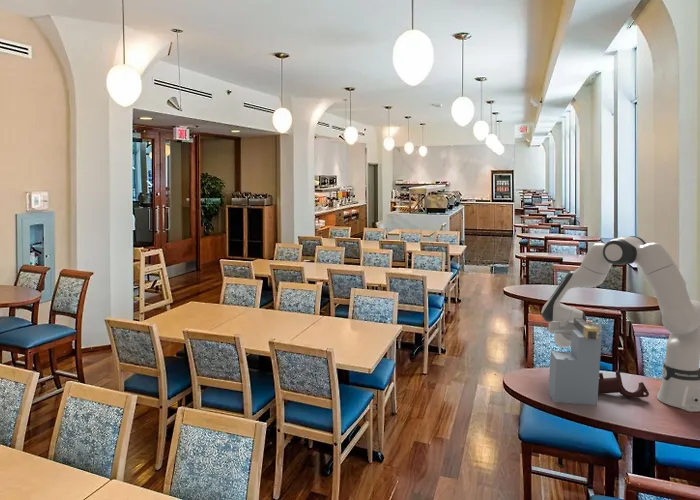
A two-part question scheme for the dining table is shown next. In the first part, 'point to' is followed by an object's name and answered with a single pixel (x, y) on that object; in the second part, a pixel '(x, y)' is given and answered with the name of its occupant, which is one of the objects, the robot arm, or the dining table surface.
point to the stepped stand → (576, 371)
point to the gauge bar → (586, 329)
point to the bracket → (619, 387)
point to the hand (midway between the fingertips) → (578, 323)
